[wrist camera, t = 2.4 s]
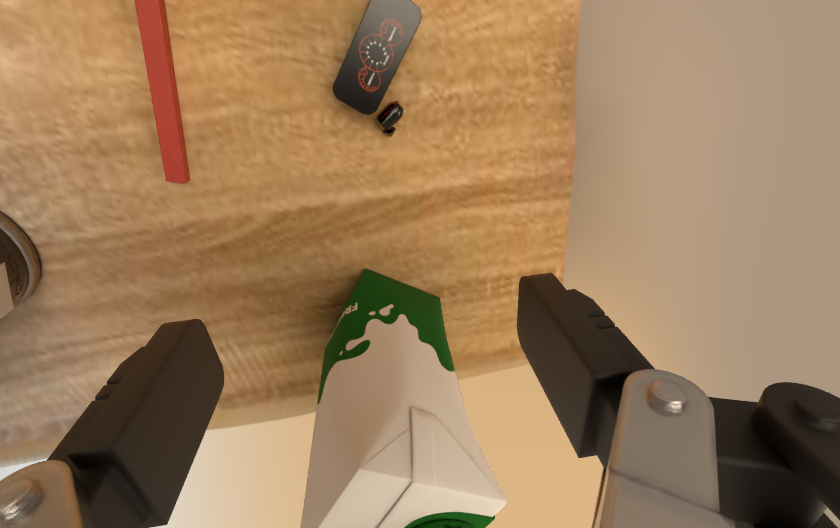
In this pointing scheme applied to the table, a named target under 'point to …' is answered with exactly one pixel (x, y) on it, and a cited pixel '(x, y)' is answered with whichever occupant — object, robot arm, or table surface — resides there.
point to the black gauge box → (377, 58)
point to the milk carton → (394, 421)
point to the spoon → (163, 87)
